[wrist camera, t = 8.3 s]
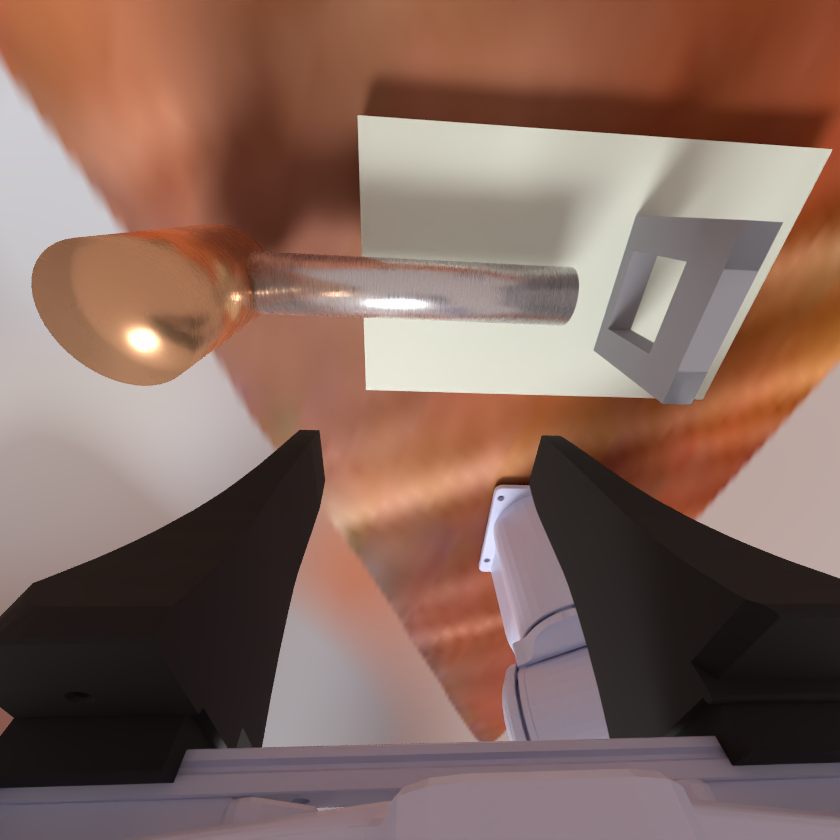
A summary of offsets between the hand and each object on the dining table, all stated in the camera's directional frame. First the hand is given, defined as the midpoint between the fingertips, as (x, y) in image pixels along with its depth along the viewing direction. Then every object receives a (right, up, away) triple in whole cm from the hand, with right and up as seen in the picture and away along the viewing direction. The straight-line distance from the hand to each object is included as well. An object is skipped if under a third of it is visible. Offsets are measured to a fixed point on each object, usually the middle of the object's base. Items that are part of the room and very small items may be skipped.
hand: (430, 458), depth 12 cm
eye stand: (+7, +9, +7) cm, 13 cm away
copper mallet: (-2, +8, +5) cm, 9 cm away
